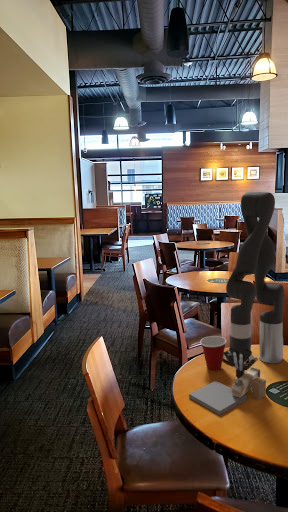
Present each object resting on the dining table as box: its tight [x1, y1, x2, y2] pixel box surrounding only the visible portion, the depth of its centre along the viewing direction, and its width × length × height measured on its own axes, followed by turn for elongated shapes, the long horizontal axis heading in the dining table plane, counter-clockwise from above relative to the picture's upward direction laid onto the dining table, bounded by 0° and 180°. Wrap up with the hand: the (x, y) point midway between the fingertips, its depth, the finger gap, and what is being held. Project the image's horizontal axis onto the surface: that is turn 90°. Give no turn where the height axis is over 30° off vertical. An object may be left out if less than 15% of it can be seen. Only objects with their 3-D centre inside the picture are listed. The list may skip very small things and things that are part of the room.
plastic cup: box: [199, 335, 227, 371], centre depth 148 cm, size 11×11×12 cm
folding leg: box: [231, 367, 261, 398], centre depth 129 cm, size 16×3×5 cm, turn 139°
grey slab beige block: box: [188, 376, 267, 416], centre depth 126 cm, size 21×17×6 cm
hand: (240, 378), depth 133 cm, fingers closed
